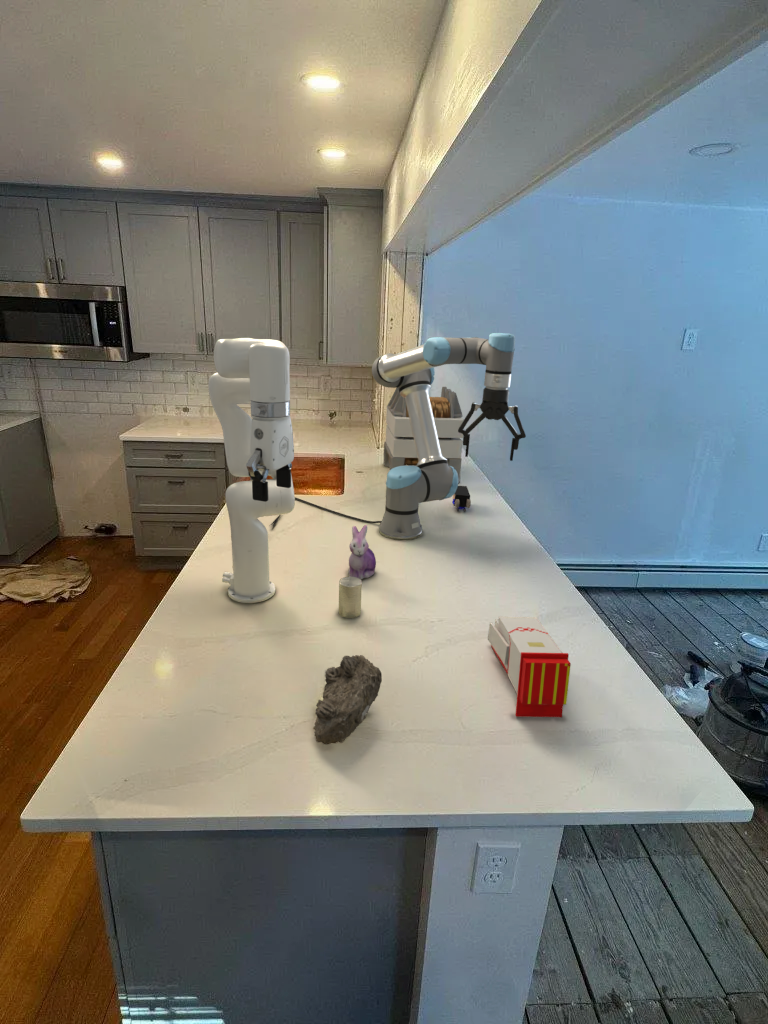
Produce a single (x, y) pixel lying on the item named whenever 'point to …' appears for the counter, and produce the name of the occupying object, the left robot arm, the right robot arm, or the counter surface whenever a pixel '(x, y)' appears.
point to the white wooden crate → (401, 437)
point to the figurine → (361, 555)
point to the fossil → (346, 698)
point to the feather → (275, 521)
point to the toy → (531, 665)
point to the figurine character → (461, 498)
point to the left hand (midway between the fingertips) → (272, 493)
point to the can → (350, 597)
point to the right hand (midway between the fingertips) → (488, 457)
